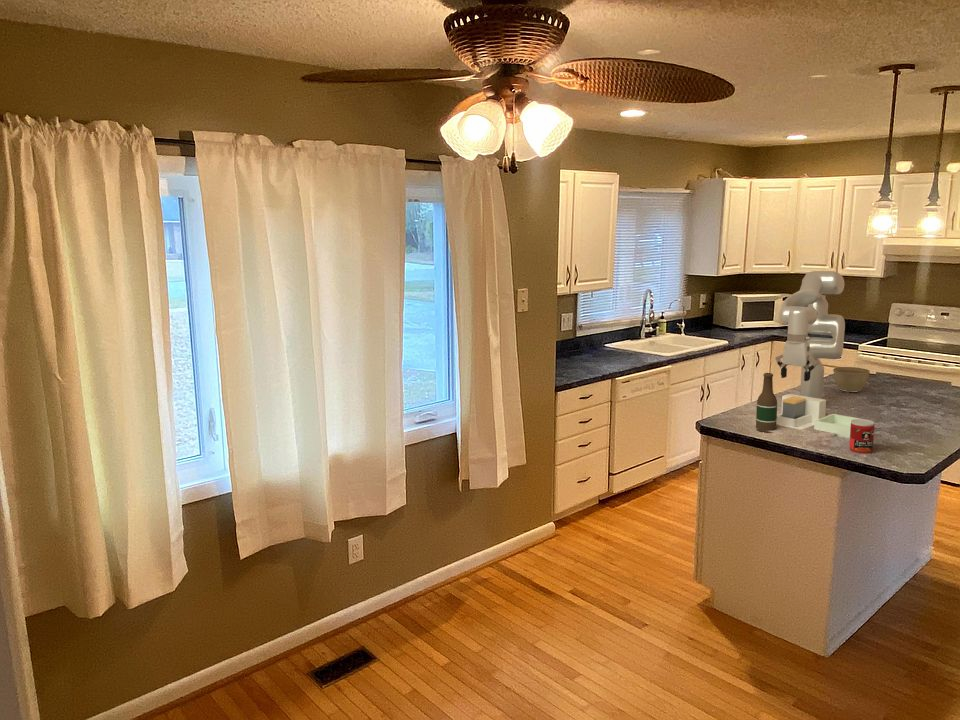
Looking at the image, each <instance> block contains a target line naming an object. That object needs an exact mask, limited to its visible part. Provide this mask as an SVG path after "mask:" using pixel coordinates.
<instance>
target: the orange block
mask: <svg viewBox="0 0 960 720" xmlns="http://www.w3.org/2000/svg"><path fill="white" fill-rule="evenodd" d="M805 400H806V398H802V397H796V396H793V397H790V398H787V399H784V400H783V411H782V410H781V413H782V417H787V418H792V419H797V418H799V417H802V416H804V414H805Z"/></svg>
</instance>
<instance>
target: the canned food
mask: <svg viewBox="0 0 960 720" xmlns="http://www.w3.org/2000/svg"><path fill="white" fill-rule="evenodd" d="M875 426H876V425H875V422H874V421H873V420H871V419H866V418H860V419H854V420H851V428H850V439H849V447H848V448H849V449H850V451H851V452H853V453H857V454H871V453H872V452H873V451H874V450H873V449H874V441H875V440H874V438H875Z"/></svg>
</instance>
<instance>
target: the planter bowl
mask: <svg viewBox="0 0 960 720" xmlns="http://www.w3.org/2000/svg"><path fill="white" fill-rule="evenodd" d="M832 372H833V377H834V378H833V379H834V382H835V384H836V385H837V387H838V388H840V389H842V390H846V391H862V389H864V387H865V386H866V385H867V382H868V380H869V378H870V377H869V375H870V373H871V371H870V370H868V369H867V368H863V367H862V368H861V367H855V366H838V367H835V368H833V369H832Z"/></svg>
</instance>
